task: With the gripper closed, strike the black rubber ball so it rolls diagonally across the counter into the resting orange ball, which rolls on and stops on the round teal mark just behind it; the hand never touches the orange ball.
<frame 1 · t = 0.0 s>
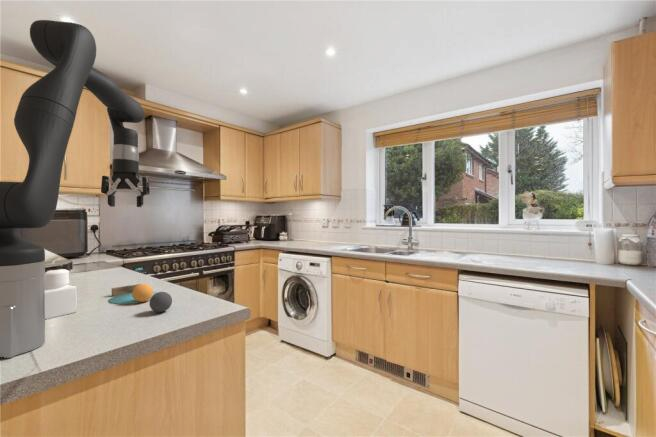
hand: (125, 206, 104), 29 cm above the countertop, tool pointing down, fingers open, 8 cm apart
teal mark: (135, 297, 97), on the countertop
walnut stopper strip: (128, 293, 102), on the countertop
orange ball: (142, 292, 93), on the countertop
black ball: (160, 301, 84), on the countertop
medicine bottle: (54, 314, 81), on the countertop
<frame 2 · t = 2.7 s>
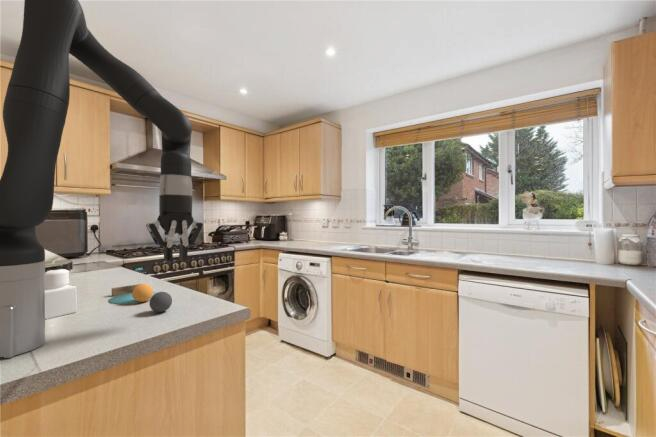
hand: (175, 261, 78), 15 cm above the countertop, tool pointing down, fingers closed
nothing on the countertop moved.
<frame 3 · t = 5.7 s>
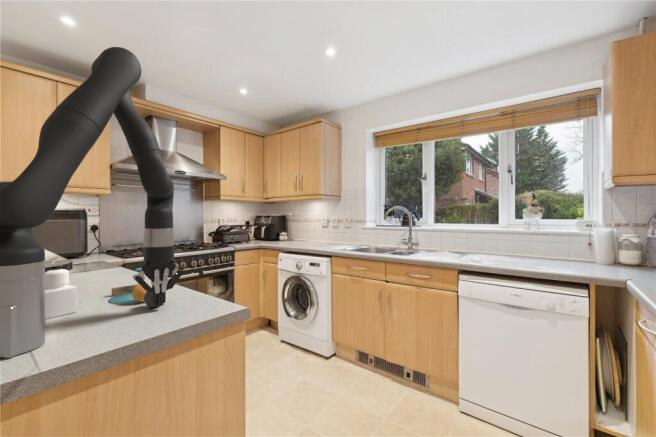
hand: (159, 305, 86), 1 cm above the countertop, tool pointing down, fingers closed
black ball: (154, 297, 88), on the countertop
everything else where it was.
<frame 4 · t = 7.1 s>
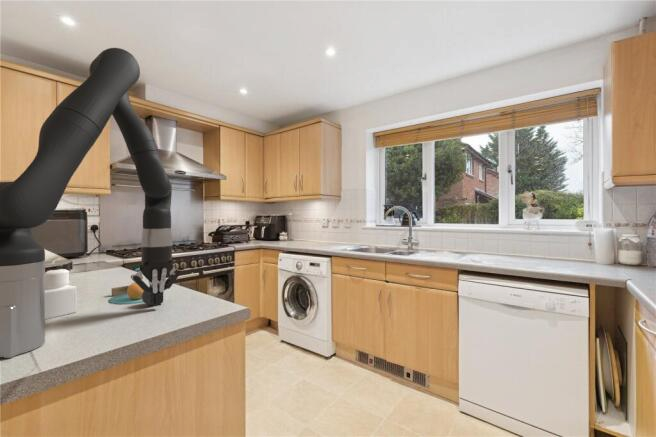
hand: (156, 305, 86), 1 cm above the countertop, tool pointing down, fingers closed
orange ball: (137, 290, 96), on the countertop
black ball: (152, 295, 90), on the countertop
everything else where it was.
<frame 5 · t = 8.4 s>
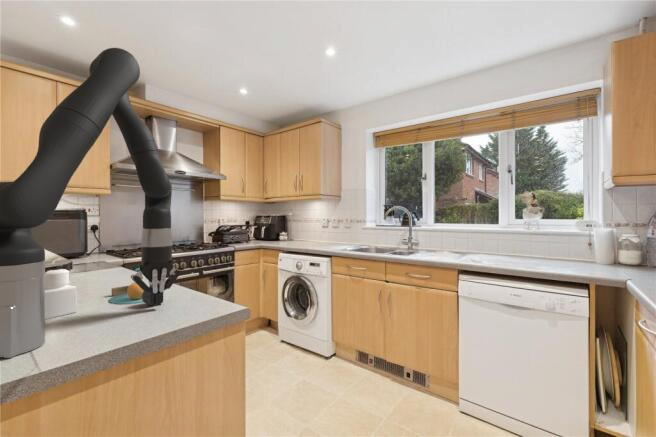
hand: (156, 305, 86), 1 cm above the countertop, tool pointing down, fingers closed
nothing on the countertop moved.
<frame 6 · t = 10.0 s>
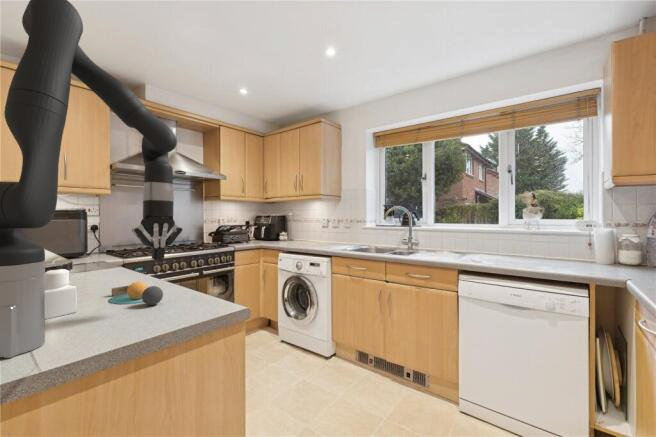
hand: (157, 261, 85), 14 cm above the countertop, tool pointing down, fingers closed
nothing on the countertop moved.
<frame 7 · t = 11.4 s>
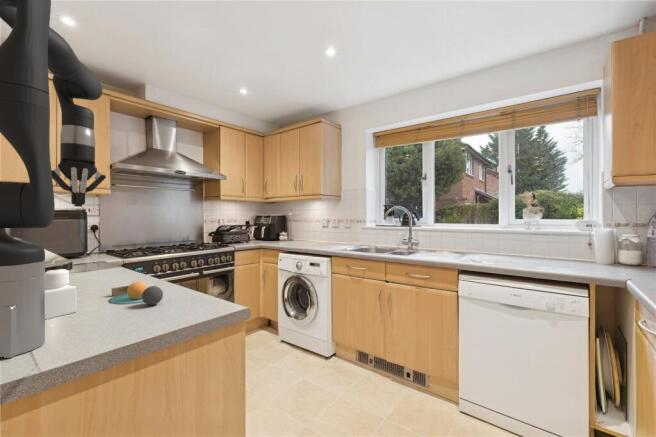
hand: (78, 206, 85), 29 cm above the countertop, tool pointing down, fingers closed
nothing on the countertop moved.
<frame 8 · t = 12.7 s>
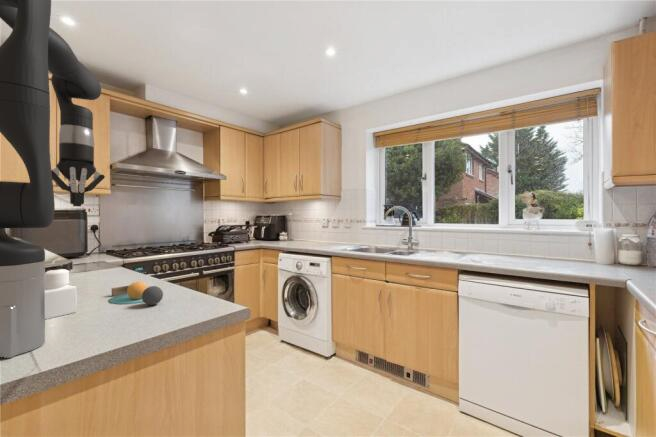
hand: (76, 206, 85), 29 cm above the countertop, tool pointing down, fingers closed
nothing on the countertop moved.
at the end: orange ball 2.3 cm from the teal mark (horizontally); orange ball never touched the robot; black ball first touched orange ball at 5.9 s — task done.
